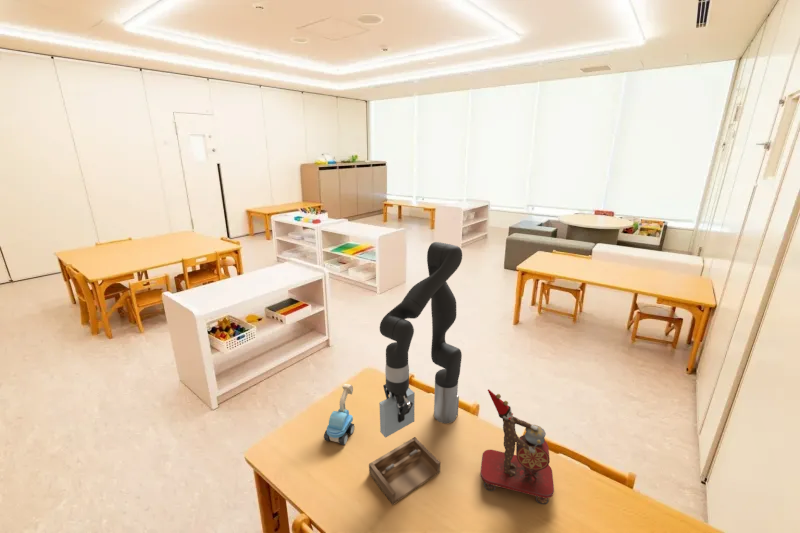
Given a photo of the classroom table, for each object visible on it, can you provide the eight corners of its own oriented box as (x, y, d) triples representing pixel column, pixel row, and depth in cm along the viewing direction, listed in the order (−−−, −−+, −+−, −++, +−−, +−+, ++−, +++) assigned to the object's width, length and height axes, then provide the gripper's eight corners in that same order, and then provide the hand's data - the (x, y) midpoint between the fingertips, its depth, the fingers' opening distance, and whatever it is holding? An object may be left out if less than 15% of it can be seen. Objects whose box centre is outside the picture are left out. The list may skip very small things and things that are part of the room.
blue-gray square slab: (409, 416, 126) (409, 387, 122) (414, 421, 124) (414, 392, 120) (380, 432, 120) (379, 402, 116) (385, 437, 117) (384, 407, 113)
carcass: (414, 446, 135) (414, 435, 134) (439, 472, 125) (440, 461, 123) (369, 473, 124) (368, 462, 123) (392, 505, 114) (392, 493, 112)
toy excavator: (362, 418, 149) (360, 384, 143) (343, 449, 134) (340, 412, 129) (343, 413, 152) (341, 379, 146) (323, 443, 137) (319, 407, 131)
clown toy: (552, 509, 112) (569, 419, 100) (478, 490, 118) (486, 403, 107) (549, 474, 124) (563, 389, 112) (482, 458, 130) (489, 376, 119)
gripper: (420, 381, 112) (419, 425, 117) (394, 360, 122) (394, 401, 128) (400, 390, 107) (401, 436, 113) (375, 368, 118) (377, 410, 124)
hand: (397, 417), depth 121 cm, fingers closed on blue-gray square slab, 3 cm apart
